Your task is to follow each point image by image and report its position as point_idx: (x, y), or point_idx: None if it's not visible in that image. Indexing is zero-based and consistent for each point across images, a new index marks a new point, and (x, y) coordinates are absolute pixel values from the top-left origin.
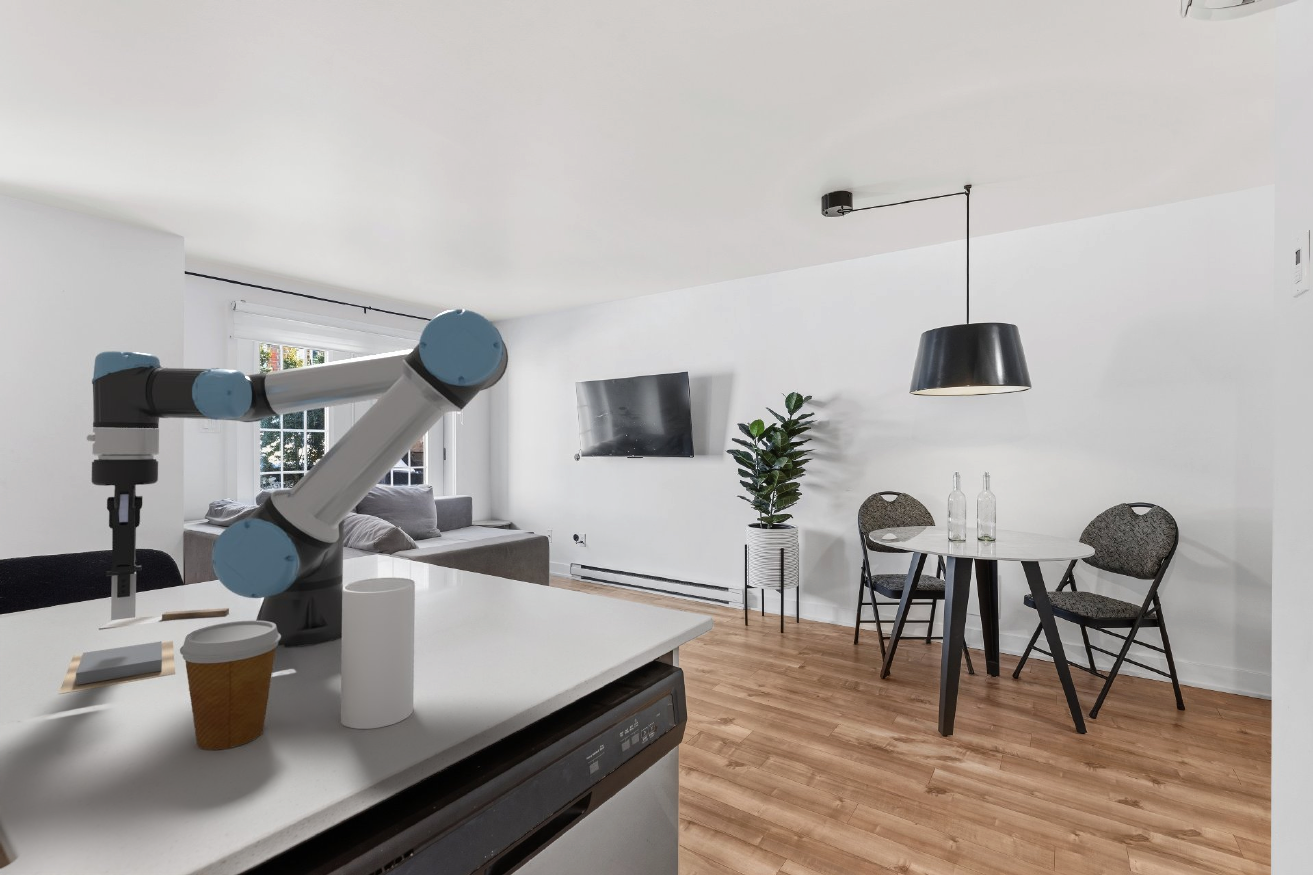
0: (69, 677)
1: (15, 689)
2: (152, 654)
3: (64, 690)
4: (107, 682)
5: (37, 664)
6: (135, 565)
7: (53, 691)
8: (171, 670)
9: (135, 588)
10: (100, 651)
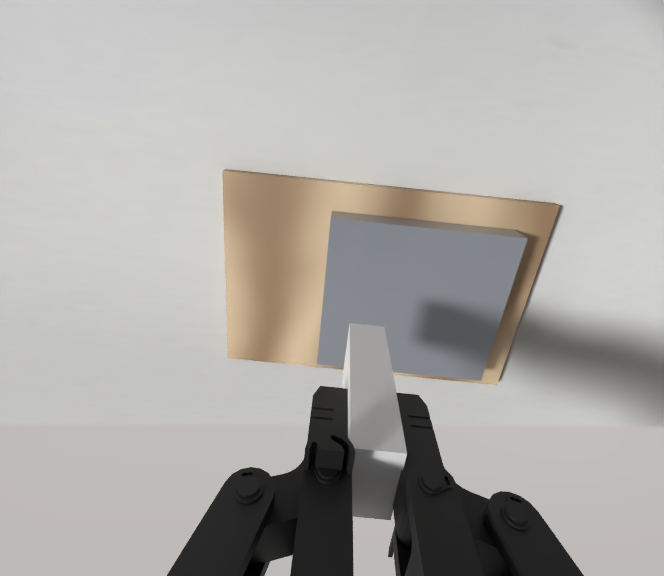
0: None
1: None
2: (456, 251)
3: (483, 377)
4: None
5: (225, 396)
6: (525, 521)
7: (439, 383)
8: (524, 209)
9: (396, 395)
10: (330, 338)
